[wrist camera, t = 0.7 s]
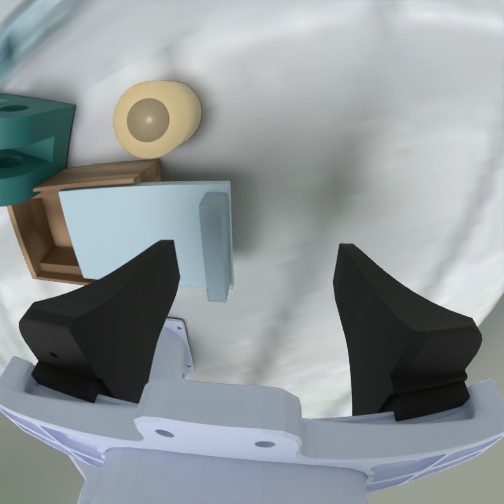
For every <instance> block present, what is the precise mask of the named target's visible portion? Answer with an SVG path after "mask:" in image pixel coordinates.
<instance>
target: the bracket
mask: <svg viewBox="0 0 504 504" xmlns="http://www.w3.org/2000/svg"><path fill="white" fill-rule="evenodd" d="M74 110H75V105H71V104H66V103H61V102H55V101H50V100H44V99H38V98H31V97H24V96H17V95H8V94H0V206H10V205H15V204H19V203H22V202H25V201H27V200H29V199H31V198H33V197H35V196H36V195H38V194H39V193H41V191H37V192H33V188H35V187H36V186H38V185H39V184H41V183H43V182H44V181H46V180H48V179H49V178H51V177H53V176H54V175H56V174H58V173H60V172H61V171H63V170H65V169H66V161H67V152H68V145H69V138H70V132H71V126H72V120H73V115H74Z"/></svg>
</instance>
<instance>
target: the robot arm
mask: <svg viewBox="0 0 504 504" xmlns="http://www.w3.org/2000/svg"><path fill="white" fill-rule="evenodd" d="M179 281H180V272H179V266H178V261H177V255H176V249H175V243H174V240H160V241H158V242H156V243H154V244H153V245H151V246H150V247H149V248H147V249H146V250H144V251H143V252H141V253H140V254H138V255H137V256H136V257H134V258H133V259H131V260H130V261H128V262H127V263H125V264H124V265H122V266H121V267H119V268H117V269H116V270H114V271H113V272H111V273H109V274H108V275H106V276H104V277H102V278H100V279H98V280H96V281H94V282H92V283H90V284H88V285H85V286H83V287H81V288H79V289H76V290H74V291H71V292H68V293H65V294H62V295H59V296H56V297H53V298H49V299H45V300H41V301H37V302H34V303H33V304H32V305H31V306H30V308H29V309H28V310H27V312H26V313H25V314H24V316H23V317H22V318H21V320H20V321H19V329H20V332H21V335H22V337H23V339H24V340H25V342H26V343H27V345H28V346H29V348H30V349H31V351H32V352H33V354H34V355H35V356H36V358H37V359H38V360H39V361H38V363H37V364H36V366H34V365H33V364H32V363H31V362H29V361H26V360H24V359H21V358H19V357H16V356H13V357H12V359H11V361H10V362H9V364H8V366H7V367H6V369H5V371H4V372H3V374H2V376H1V377H0V410H1V411H2V412H3V413H4V414H5V415H6V416H7V417H8V418H9V419H10V420H11V421H13V422H14V423H15V424H16V425H17V426H18V427H20V428H21V429H22V430H23V431H25V432H27V433H29V434H30V435H32V436H34V437H36V438H38V439H39V440H41V441H43V442H45V443H47V444H48V445H50V446H52V447H54V448H56V449H58V450H60V451H62V452H64V453H66V454H68V455H69V457H70V458H71V460H72V461H73V463H74V464H75V465H76V467H77V468H78V470H79V471H80V473H81V474H82V475H83V477H84V482H83V486H82V489H81V492H80V496H79V499H78V502H77V504H367V493H370V492H375V491H379V490H383V489H387V488H391V487H395V486H398V485H401V484H405V483H408V482H411V481H414V480H417V479H420V478H423V477H426V476H429V475H432V474H434V473H437V472H440V471H442V470H445V469H448V468H451V467H453V466H455V465H458V464H460V463H463V462H465V461H468V460H470V459H472V458H474V457H476V456H478V455H479V454H480V453H482V452H483V451H485V450H486V449H488V448H489V447H490V446H492V445H493V444H494V443H496V442H497V441H498V440H499V439H501V438H502V437H504V403H503V401H502V398H501V396H500V393H499V391H498V389H497V386H496V384H495V382H494V380H493V378H490V379H487V380H484V381H480V382H477V383H474V384H472V385H470V386H469V387H466V385H465V382H464V381H465V380H466V379H467V374H466V372H465V369H466V367H467V366H468V365H469V363H470V362H471V361H472V359H473V358H474V356H475V355H476V354H477V352H478V350H479V348H480V345H481V342H482V335H481V333H480V331H479V329H478V327H477V326H476V324H475V322H474V320H473V319H472V318H470V317H467V316H465V315H462V314H459V313H456V312H453V311H450V310H448V309H446V308H444V307H441V306H439V305H437V304H435V303H433V302H431V301H429V300H427V299H425V298H423V297H422V296H420V295H418V294H416V293H415V292H413V291H411V290H410V289H408V288H407V287H405V286H404V285H402V284H401V283H400V282H398V281H397V280H395V279H394V278H393V277H392V276H390V275H389V274H388V273H386V272H385V271H384V270H383V269H382V268H380V267H379V266H378V265H377V264H376V263H375V262H374V261H372V260H371V259H370V258H369V257H368V256H367V255H366V254H365V253H363V252H362V251H361V250H360V249H359V248H358V247H356V246H355V245H354V244H343V243H339V250H338V256H337V262H336V267H335V273H334V278H333V286H334V294H335V301H336V305H337V308H338V312H339V316H340V319H341V323H342V327H343V331H344V334H345V338H346V343H347V348H348V355H349V364H350V374H351V387H352V416H350V417H338V418H321V419H307V418H302V412H301V404H300V401H299V398H298V397H296V396H295V395H293V394H291V393H289V392H287V391H285V390H284V389H280V388H274V387H267V386H254V385H235V384H222V383H210V382H200V381H191V380H185V376H186V373H187V372H189V373H193V372H194V371H195V368H194V364H193V360H192V356H191V352H190V347H189V343H188V339H187V334H186V330H185V325H184V322H183V321H182V320H179V319H169V318H167V316H168V313H169V311H170V309H171V306H172V304H173V301H174V299H175V296H176V293H177V289H178V285H179Z"/></svg>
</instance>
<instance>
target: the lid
mask: <svg viewBox="0 0 504 504" xmlns="http://www.w3.org/2000/svg"><path fill="white" fill-rule="evenodd" d="M58 193H59V197H60V201H61V205H62V209H63V213H64V217H65V221H66V224H67V228H68V231H69V235H70V238H71V241H72V245H73V248H74V251H75V254H76V257H77V260H78V263H79V266H80V269H81V272H82V274H83V277H84V278H89V279H100V278H102V277H104V276H106V275H108V274H109V273H111V272H113V271H114V270H116V269H117V268H119V267H121V266H122V265H124V264H125V263H127V262H128V261H130V260H131V259H133V258H134V257H136V256H137V255H138V254H140V253H141V252H143V251H144V250H146V249H147V248H149V247H150V246H151V245H153V244H154V243H156V242H158V241H160V240H174V243H175V249H176V255H177V261H178V266H179V272H180V281H179V285H178V286H186V287H202V288H207V296H208V301H212V302H226V300H227V295H228V290H229V289H233V285H234V273H233V247H232V216H231V181H171V182H143V183H127V184H111V185H97V186H85V187H74V188H64V189H62V190H60V191H59V192H58Z"/></svg>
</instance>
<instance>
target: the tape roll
mask: <svg viewBox="0 0 504 504" xmlns="http://www.w3.org/2000/svg"><path fill="white" fill-rule="evenodd" d="M201 117H202V107H201V103H200V100H199V98H198V96H197V94H196V93H195V92H194V91H193V90H192V89H191V88H190V87H189V86H187V85H185V84H183V83H180V82H175V81H146V82H141V83H139V84H136V85H134V86H132V87H131V88H129V89H128V90H127V91H126V92H125V93H124V94H123V95H122V96H121V98H120V99H119V101H118V103H117V105H116V107H115V110H114V115H113V127H114V132H115V135H116V137H117V139H118V141H119V143H120V144H121V145H122V147H123V148H124V149H125V150H126V151H128V152H129V153H131V154H132V155H134V156H137V157H140V158H145V159H152V158H158V157H161V156H163V155H165V154H167V153H169V152H170V151H172V150H173V149H175V148H176V147H178V146H179V145H181V144H182V143H184V142H185V141H187V140H188V139H189V138H190V137H191V136H192V135H193V134H194V133H195V132H196V130H197V129H198V127H199V125H200V122H201Z"/></svg>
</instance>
